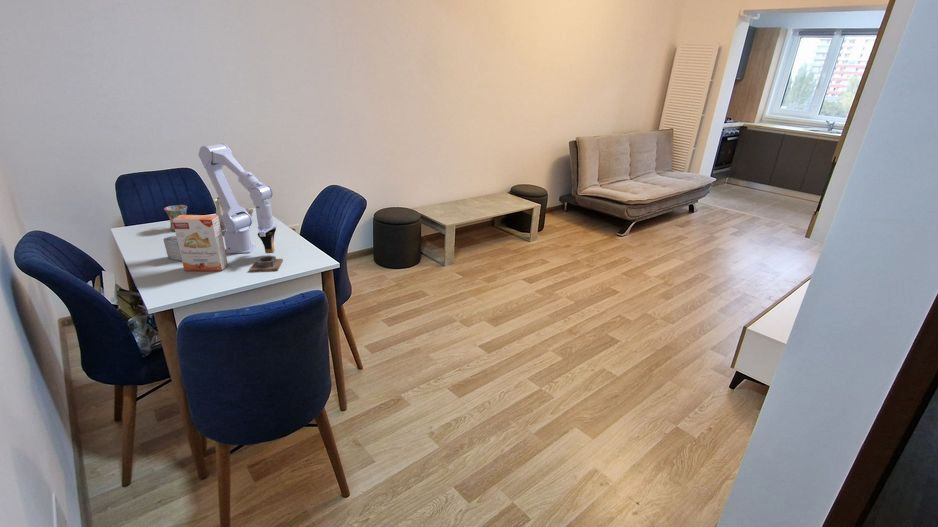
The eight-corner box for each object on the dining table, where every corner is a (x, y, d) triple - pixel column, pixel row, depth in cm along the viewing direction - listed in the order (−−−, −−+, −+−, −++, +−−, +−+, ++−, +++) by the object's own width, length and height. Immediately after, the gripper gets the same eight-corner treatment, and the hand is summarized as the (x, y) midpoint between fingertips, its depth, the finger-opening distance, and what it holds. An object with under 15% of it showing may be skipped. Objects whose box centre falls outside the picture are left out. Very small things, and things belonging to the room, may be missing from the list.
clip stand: (250, 271, 171) (248, 264, 170) (256, 261, 180) (255, 254, 179) (277, 270, 173) (276, 263, 172) (283, 260, 182) (282, 254, 181)
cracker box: (183, 271, 170) (171, 218, 162) (191, 265, 175) (179, 214, 167) (222, 271, 171) (211, 219, 163) (228, 265, 176) (218, 214, 168)
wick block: (265, 253, 184) (262, 235, 181) (267, 250, 187) (264, 232, 184) (273, 253, 185) (270, 234, 182) (274, 250, 188) (272, 232, 184)
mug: (194, 229, 214) (189, 208, 210) (172, 233, 208) (166, 211, 203) (187, 223, 221) (182, 202, 217) (165, 227, 215) (160, 206, 211)
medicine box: (192, 257, 183) (187, 237, 179) (182, 261, 179) (177, 241, 175) (177, 254, 185) (172, 235, 181) (167, 258, 181) (162, 238, 178)
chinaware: (245, 238, 210) (243, 203, 204) (205, 236, 205) (202, 201, 199) (255, 220, 235) (254, 189, 229) (220, 218, 230) (217, 186, 224)
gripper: (270, 221, 174) (275, 253, 179) (279, 210, 187) (283, 240, 192) (251, 221, 173) (256, 254, 178) (261, 210, 186) (265, 241, 191)
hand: (269, 247), depth 185 cm, fingers closed on wick block, 3 cm apart
